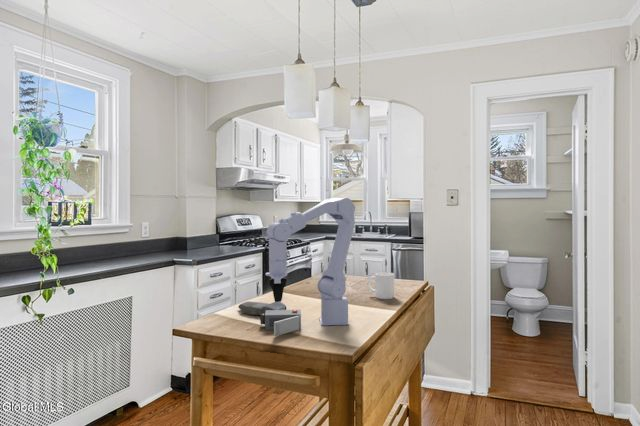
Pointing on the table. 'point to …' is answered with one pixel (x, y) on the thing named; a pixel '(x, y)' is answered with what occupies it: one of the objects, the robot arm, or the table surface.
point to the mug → (382, 285)
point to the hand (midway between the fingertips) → (278, 300)
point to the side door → (287, 325)
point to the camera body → (276, 317)
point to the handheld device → (260, 307)
